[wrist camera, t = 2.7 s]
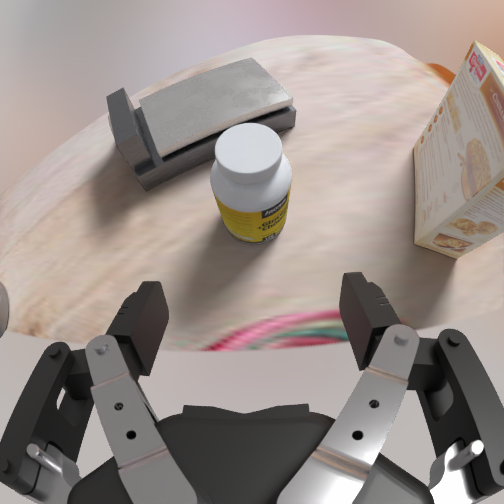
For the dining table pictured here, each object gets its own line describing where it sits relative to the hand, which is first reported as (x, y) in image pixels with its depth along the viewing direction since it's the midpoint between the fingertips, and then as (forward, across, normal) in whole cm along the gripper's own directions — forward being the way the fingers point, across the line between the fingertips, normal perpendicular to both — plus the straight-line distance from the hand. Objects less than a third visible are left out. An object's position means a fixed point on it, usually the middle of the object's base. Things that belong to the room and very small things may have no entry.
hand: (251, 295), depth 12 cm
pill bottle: (+18, 0, +3) cm, 18 cm away
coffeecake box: (+19, -23, +2) cm, 30 cm away
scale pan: (+26, +5, -10) cm, 28 cm away
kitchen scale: (+28, +6, -7) cm, 29 cm away
